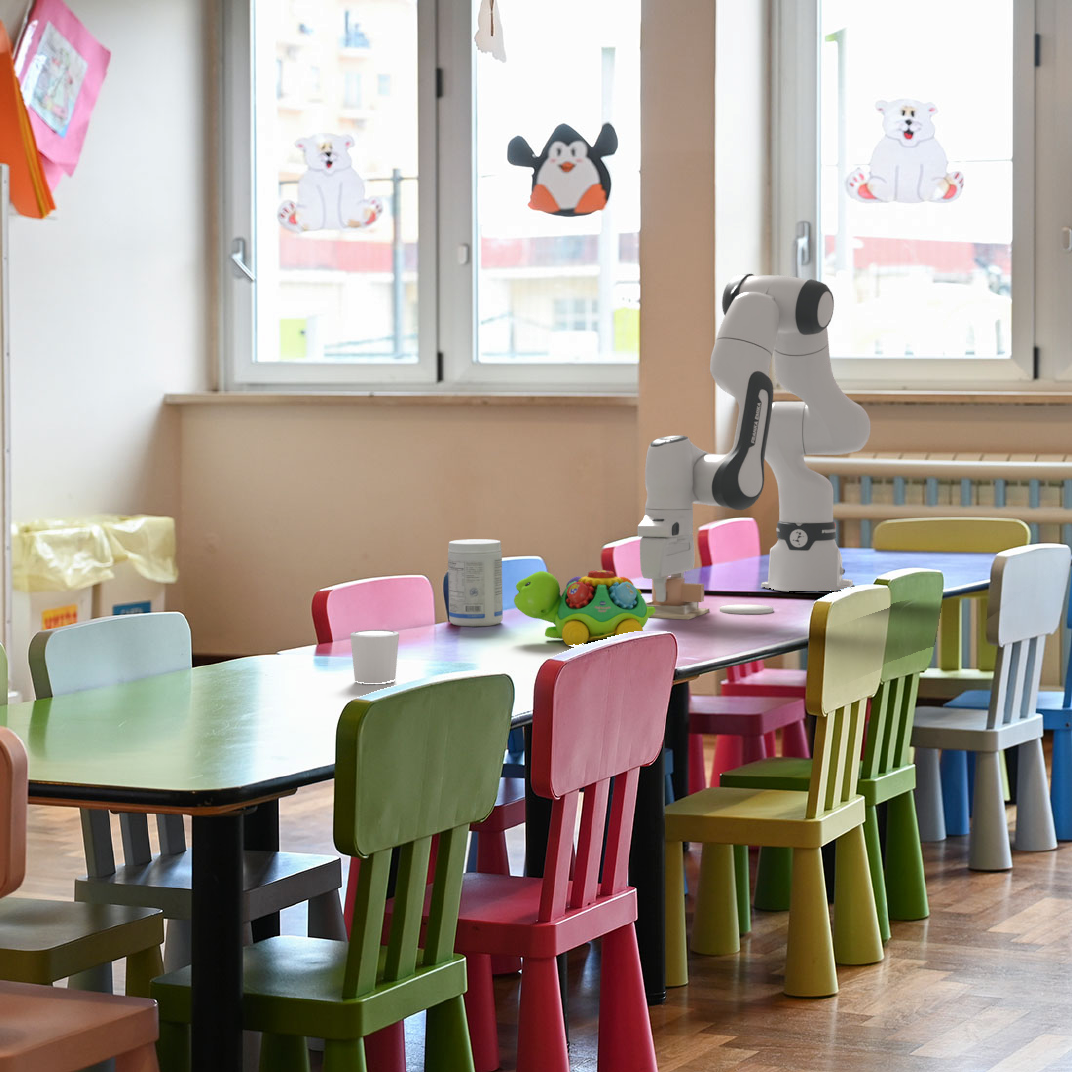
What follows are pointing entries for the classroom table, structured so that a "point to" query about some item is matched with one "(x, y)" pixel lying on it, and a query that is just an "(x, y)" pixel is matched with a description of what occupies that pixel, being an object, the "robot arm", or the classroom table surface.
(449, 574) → the supplement tub
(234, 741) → the classroom table surface
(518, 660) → the classroom table surface
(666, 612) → the jug stand
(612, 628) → the turtle toy
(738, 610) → the coaster
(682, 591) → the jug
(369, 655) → the white cup
